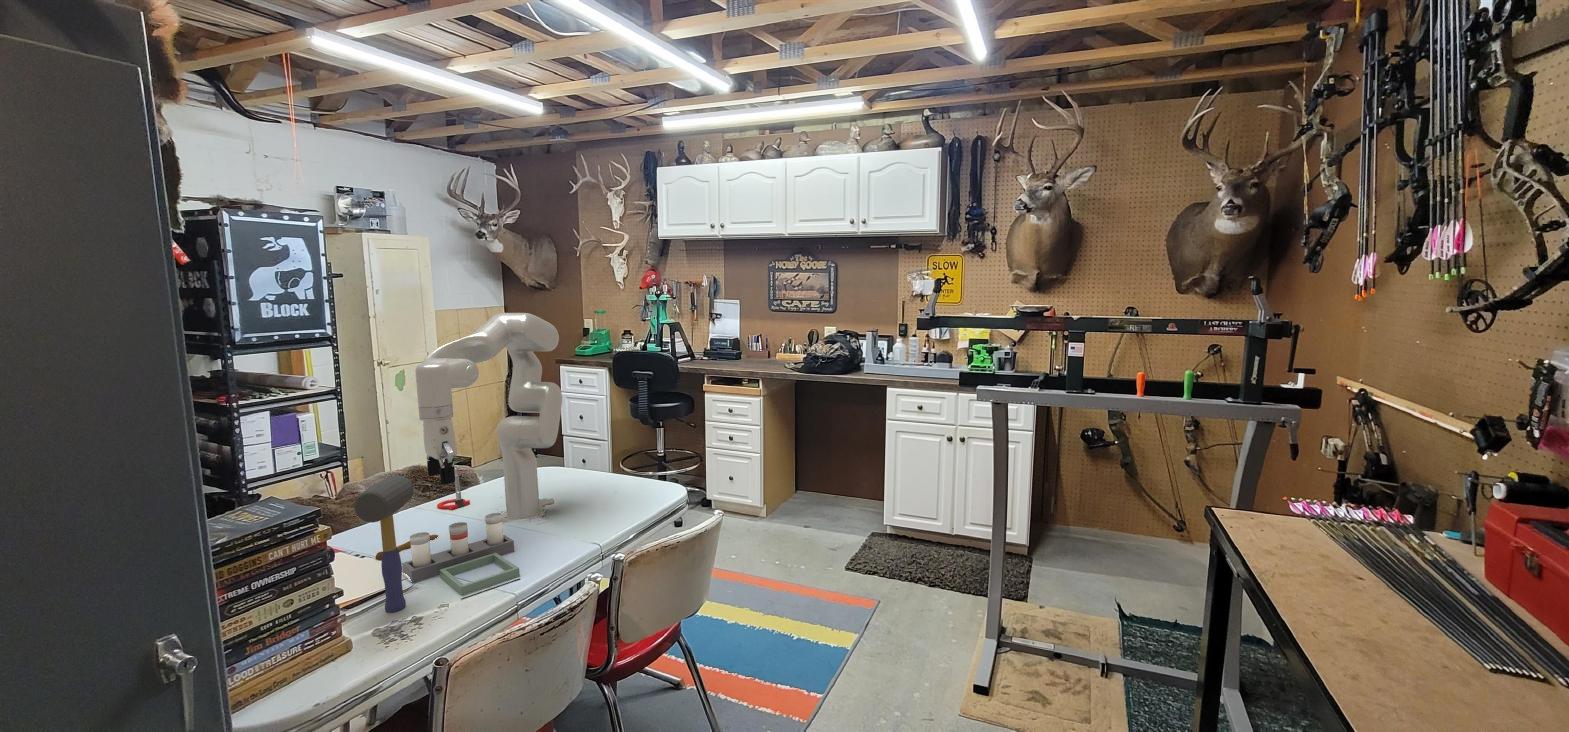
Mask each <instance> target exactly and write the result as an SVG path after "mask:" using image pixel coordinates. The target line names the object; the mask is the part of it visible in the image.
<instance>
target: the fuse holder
mask: <svg viewBox="0 0 1569 732" xmlns="http://www.w3.org/2000/svg"><path fill="white" fill-rule="evenodd" d="M503 537H504V542H503V543H499V544H496V545H493V546H489V545H488V544H487V538H485V539H480V540H478V541H474V542H470V543H468V546H469V553H466V554H462V555H459V556H456V557H453V556H452V554H451V548H449V549H446V550H443V551H440V552H439V551H438V552H437V553H436V552H435V553H433V554H432V553H431V564H429V565H426V566H422V567H419V568H415V569H414V568H413V563H412V559H411V560H408V561H406V562H405V561H404V562H401V564H402V574H403V573H405V574H407V575H408V576H409V577H410V579H411V581H412V583H411V584H415V583H418V582H421V581H425V580H428V579H431V578H432V579H433V578H434V577H437V576H440V570H441V569H444V568H447V567H451V566H454V565H457V564H460V563H464V562H467V561H470V560H473V559H477V558H480V557H483V556H486V555H490V554H493V553H497V554H499V555H500V556H502V557H503V556H505V555H509V554H512V553H514V552H515V541H514V539H512V538H510V537H508V536H507V535H505V534H504V533H503Z"/></svg>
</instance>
